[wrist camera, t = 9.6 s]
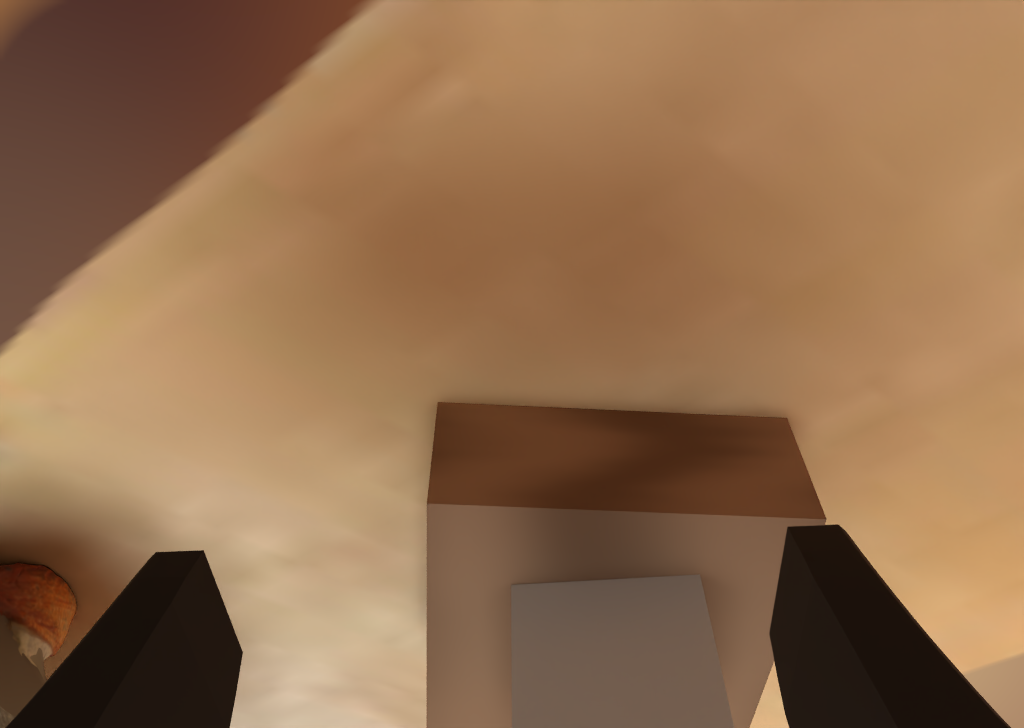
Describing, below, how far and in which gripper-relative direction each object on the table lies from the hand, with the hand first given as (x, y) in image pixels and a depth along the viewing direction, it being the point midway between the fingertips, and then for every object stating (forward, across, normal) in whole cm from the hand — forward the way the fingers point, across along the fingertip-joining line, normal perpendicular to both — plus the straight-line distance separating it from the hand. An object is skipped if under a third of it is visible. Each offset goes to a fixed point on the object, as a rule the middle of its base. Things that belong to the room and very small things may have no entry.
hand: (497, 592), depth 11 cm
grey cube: (+7, -2, +10) cm, 12 cm away
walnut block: (+11, -2, +10) cm, 15 cm away
